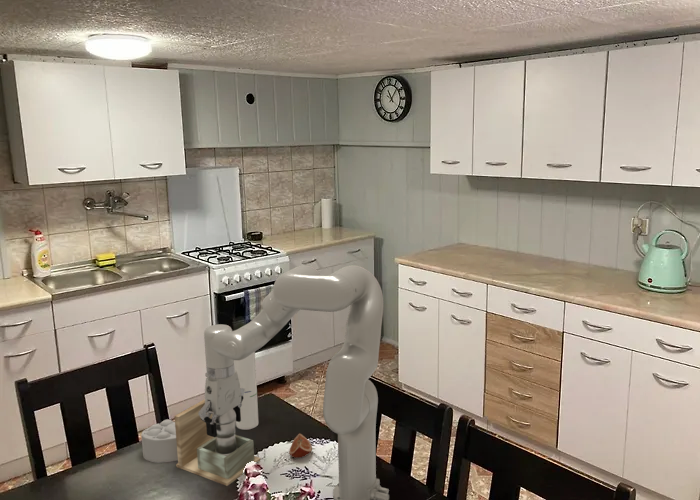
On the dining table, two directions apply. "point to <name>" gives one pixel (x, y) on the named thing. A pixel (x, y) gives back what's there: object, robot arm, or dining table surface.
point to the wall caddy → (208, 449)
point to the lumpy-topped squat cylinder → (160, 442)
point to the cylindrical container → (248, 392)
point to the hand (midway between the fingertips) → (224, 427)
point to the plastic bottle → (226, 433)
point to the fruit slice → (300, 447)
